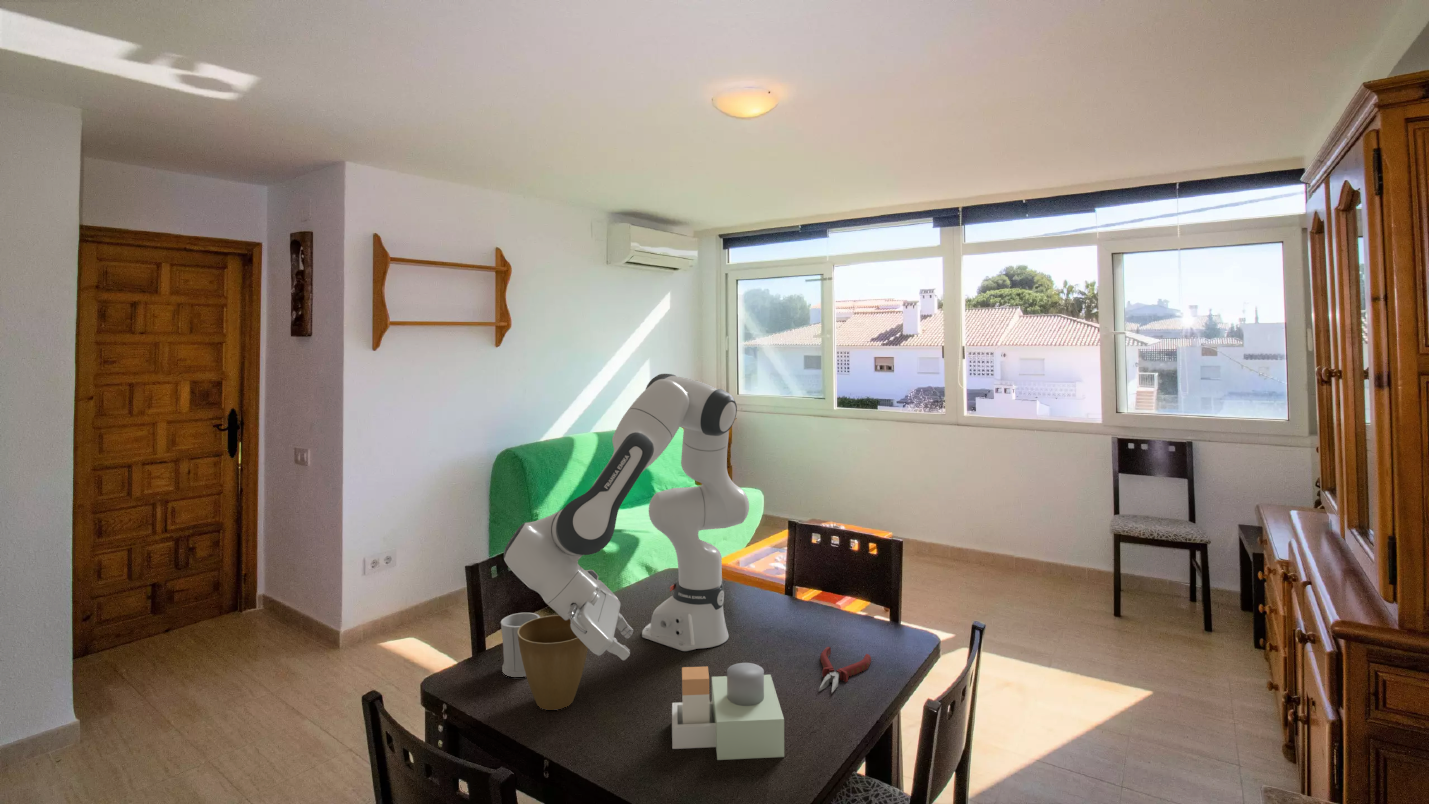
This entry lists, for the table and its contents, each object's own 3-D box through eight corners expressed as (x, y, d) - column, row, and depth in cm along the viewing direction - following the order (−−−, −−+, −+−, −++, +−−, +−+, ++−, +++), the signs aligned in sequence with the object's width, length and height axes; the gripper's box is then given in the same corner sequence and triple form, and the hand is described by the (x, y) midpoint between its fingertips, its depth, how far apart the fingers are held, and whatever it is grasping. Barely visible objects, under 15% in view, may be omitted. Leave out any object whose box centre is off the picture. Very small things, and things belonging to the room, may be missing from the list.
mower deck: (672, 761, 119) (671, 696, 118) (672, 711, 136) (671, 654, 135) (784, 756, 120) (784, 691, 119) (770, 707, 137) (770, 650, 136)
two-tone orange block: (683, 742, 125) (682, 679, 124) (682, 727, 130) (681, 667, 129) (709, 741, 125) (709, 678, 124) (708, 726, 130) (707, 666, 129)
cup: (555, 667, 156) (554, 616, 155) (529, 684, 148) (527, 631, 147) (520, 659, 161) (518, 610, 160) (492, 675, 152) (491, 623, 152)
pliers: (799, 691, 144) (799, 679, 144) (825, 654, 163) (825, 644, 162) (851, 703, 140) (852, 691, 139) (872, 663, 158) (872, 652, 158)
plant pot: (525, 728, 130) (522, 648, 129) (515, 693, 144) (512, 620, 143) (600, 711, 136) (598, 634, 135) (584, 679, 150) (582, 609, 149)
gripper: (579, 603, 114) (638, 657, 115) (593, 566, 134) (643, 613, 136) (553, 630, 114) (612, 683, 115) (571, 589, 134) (621, 635, 136)
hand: (629, 645), depth 126 cm, fingers open, 8 cm apart
